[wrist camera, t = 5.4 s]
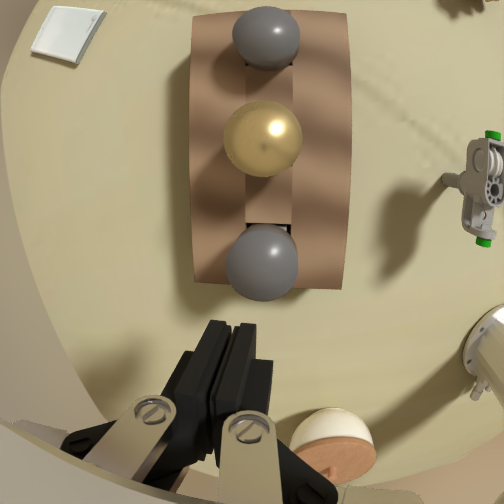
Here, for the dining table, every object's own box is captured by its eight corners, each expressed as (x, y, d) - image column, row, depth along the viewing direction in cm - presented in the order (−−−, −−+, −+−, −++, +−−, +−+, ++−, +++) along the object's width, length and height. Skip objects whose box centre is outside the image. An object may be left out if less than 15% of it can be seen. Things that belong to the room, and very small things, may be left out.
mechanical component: (432, 221, 30) (477, 247, 20) (438, 132, 27) (487, 128, 17) (452, 223, 29) (499, 249, 20) (458, 137, 26) (510, 136, 17)
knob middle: (299, 172, 27) (302, 178, 19) (242, 171, 27) (223, 176, 20) (299, 116, 25) (302, 100, 18) (242, 116, 26) (223, 101, 18)
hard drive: (103, 10, 25) (52, 5, 25) (74, 63, 28) (28, 50, 27) (109, 14, 27) (58, 7, 26) (81, 65, 29) (35, 52, 29)
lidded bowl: (273, 416, 41) (266, 473, 31) (345, 382, 38) (355, 443, 27) (314, 451, 44) (314, 501, 33) (379, 423, 40) (391, 475, 30)
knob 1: (298, 84, 26) (300, 60, 19) (246, 84, 27) (231, 61, 19) (297, 40, 25) (298, 6, 17) (246, 40, 25) (232, 8, 18)
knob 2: (295, 265, 29) (296, 303, 22) (242, 263, 30) (226, 299, 23) (297, 213, 28) (300, 234, 20) (242, 211, 28) (224, 231, 21)
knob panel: (333, 267, 33) (341, 289, 27) (210, 261, 35) (194, 282, 29) (337, 36, 25) (346, 13, 19) (209, 37, 27) (192, 16, 21)
